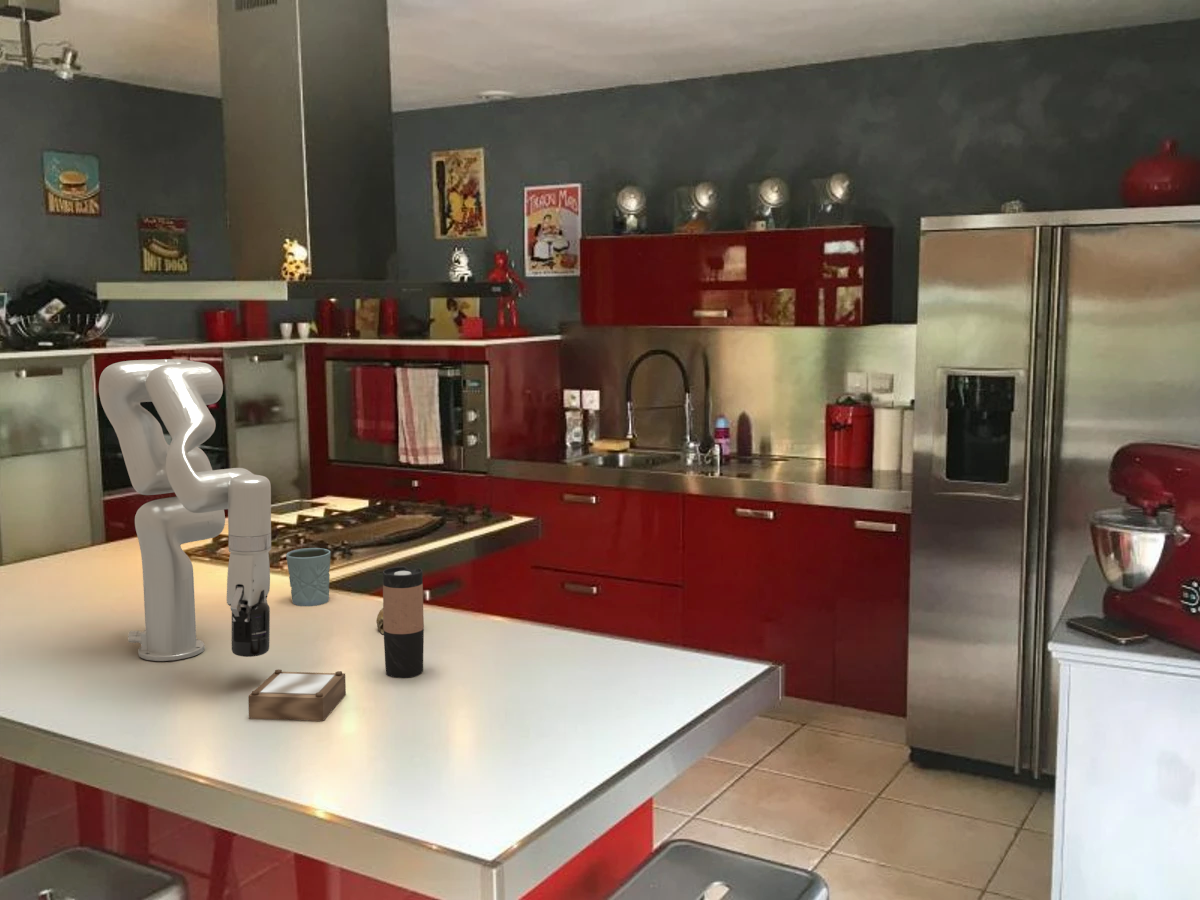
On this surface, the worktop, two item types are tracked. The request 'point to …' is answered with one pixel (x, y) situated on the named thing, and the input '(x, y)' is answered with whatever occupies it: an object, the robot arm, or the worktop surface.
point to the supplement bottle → (255, 631)
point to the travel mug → (403, 621)
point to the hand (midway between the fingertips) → (250, 634)
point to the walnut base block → (297, 696)
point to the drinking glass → (309, 576)
